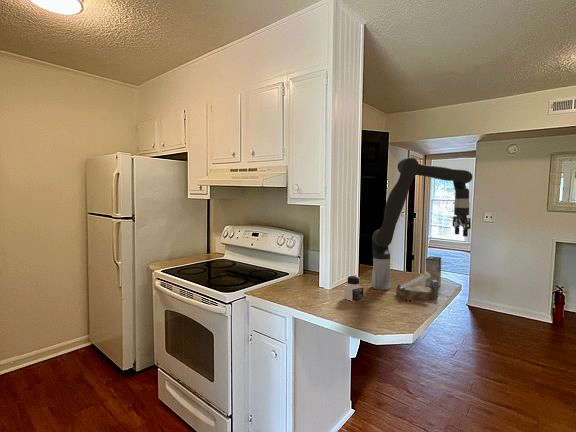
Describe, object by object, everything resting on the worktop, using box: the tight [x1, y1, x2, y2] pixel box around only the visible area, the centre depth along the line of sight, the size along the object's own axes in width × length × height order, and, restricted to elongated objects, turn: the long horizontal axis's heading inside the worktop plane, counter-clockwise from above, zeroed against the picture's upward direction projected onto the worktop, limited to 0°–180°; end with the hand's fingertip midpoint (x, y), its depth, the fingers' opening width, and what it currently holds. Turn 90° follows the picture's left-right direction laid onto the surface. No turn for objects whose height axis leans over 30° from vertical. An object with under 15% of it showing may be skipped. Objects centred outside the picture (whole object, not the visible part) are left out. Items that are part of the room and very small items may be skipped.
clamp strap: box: [399, 271, 431, 289], centre depth 167 cm, size 17×4×2 cm, turn 90°
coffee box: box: [425, 255, 442, 288], centre depth 187 cm, size 9×6×16 cm
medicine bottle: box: [343, 275, 364, 303], centre depth 165 cm, size 7×7×12 cm
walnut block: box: [395, 284, 436, 301], centre depth 168 cm, size 17×9×6 cm, turn 91°
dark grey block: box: [430, 280, 439, 298], centre depth 168 cm, size 2×3×8 cm
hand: (461, 235), depth 183 cm, fingers open, 8 cm apart
